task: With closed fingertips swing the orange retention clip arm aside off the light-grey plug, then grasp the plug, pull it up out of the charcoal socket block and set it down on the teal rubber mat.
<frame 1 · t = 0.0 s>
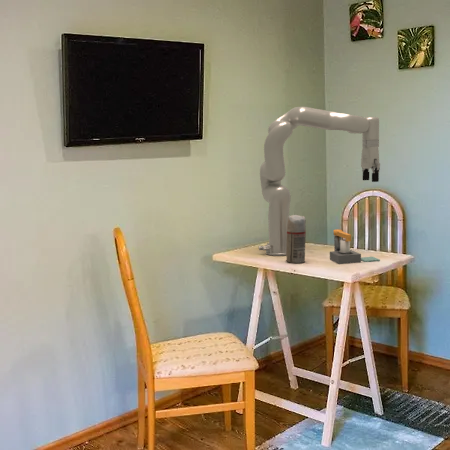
hand: (370, 180, 310), 31 cm above the table, fingers open, 9 cm apart
socket block: (345, 260, 285), on the table
mat: (368, 260, 285), on the table
clip: (342, 235, 286), point 11 cm above the table, hinge at 0.0°
spray can: (296, 262, 286), on the table
plug: (345, 250, 284), in the socket block
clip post: (337, 257, 292), on the table
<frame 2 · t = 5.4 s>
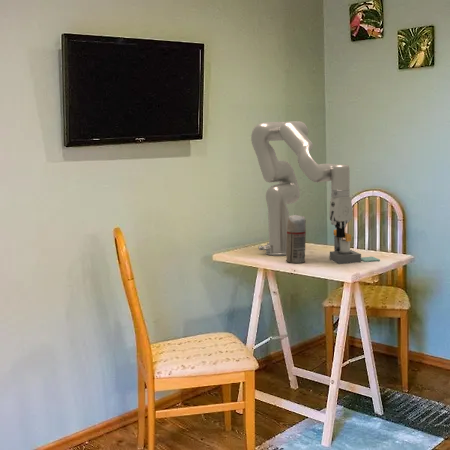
hand: (340, 237, 281), 11 cm above the table, fingers closed
clip: (342, 235, 286), point 11 cm above the table, hinge at 0.2°, touching gripper
everything else where it was.
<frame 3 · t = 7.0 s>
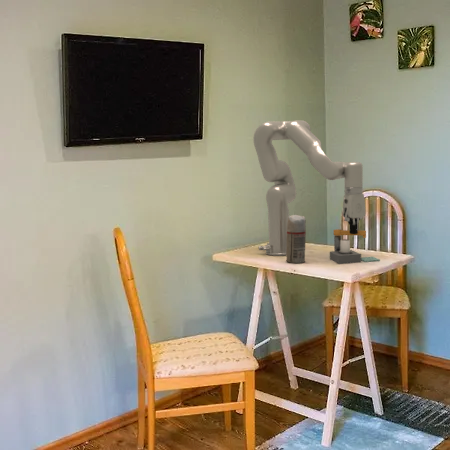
hand: (353, 233, 286), 11 cm above the table, fingers closed
clip: (349, 233, 289), point 11 cm above the table, hinge at 62.1°, touching gripper
everything else where it was.
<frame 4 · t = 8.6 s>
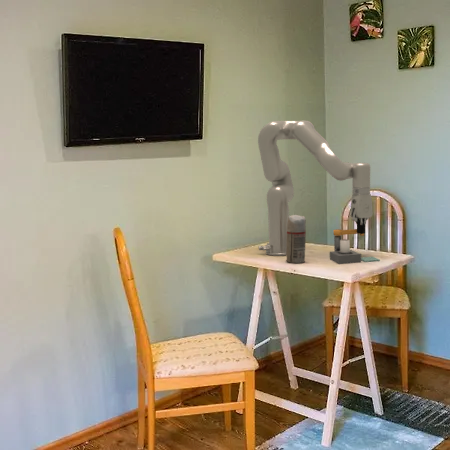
hand: (360, 233, 290), 11 cm above the table, fingers closed
clip: (348, 232, 292), point 11 cm above the table, hinge at 90.3°, touching gripper
everything else where it was.
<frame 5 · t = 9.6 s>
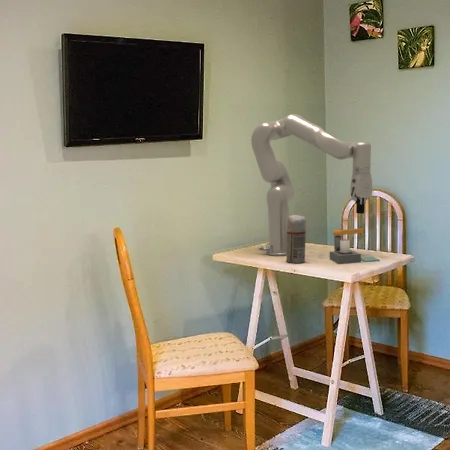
hand: (360, 213, 289), 19 cm above the table, fingers closed
clip: (348, 232, 292), point 11 cm above the table, hinge at 93.8°
everything else where it was.
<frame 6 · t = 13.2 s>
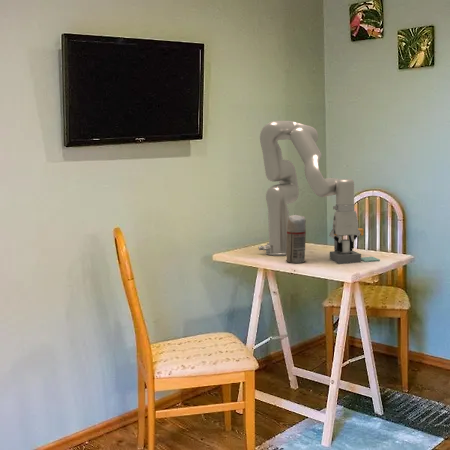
hand: (345, 250, 284), 5 cm above the table, fingers closed on plug, 4 cm apart
plug: (345, 250, 284), in the socket block, touching gripper
everything else where it was.
when the fingers open (7 cm above the table, at t = 18.4 s): plug drops 1 cm, resting on mat.
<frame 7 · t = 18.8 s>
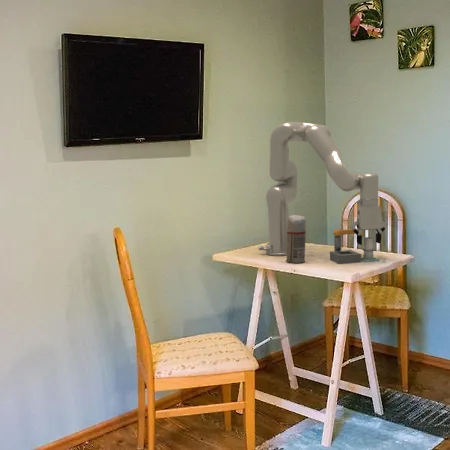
hand: (368, 243, 284), 7 cm above the table, fingers open, 8 cm apart
plug: (368, 248, 284), on the mat, point 5 cm above the table
everything else where it was.
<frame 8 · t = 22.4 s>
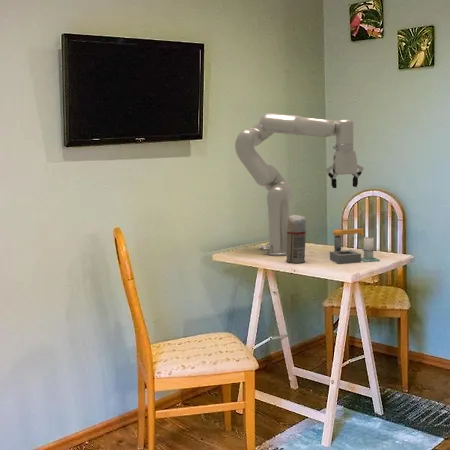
hand: (344, 187, 293), 30 cm above the table, fingers open, 9 cm apart
nothing on the table moved.
at the end: clip at +94° (first picture: +0°); plug inside the target area on the mat (0.1 cm from its centre), point 5.1 cm above the mat's base; the gripper is holding nothing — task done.
